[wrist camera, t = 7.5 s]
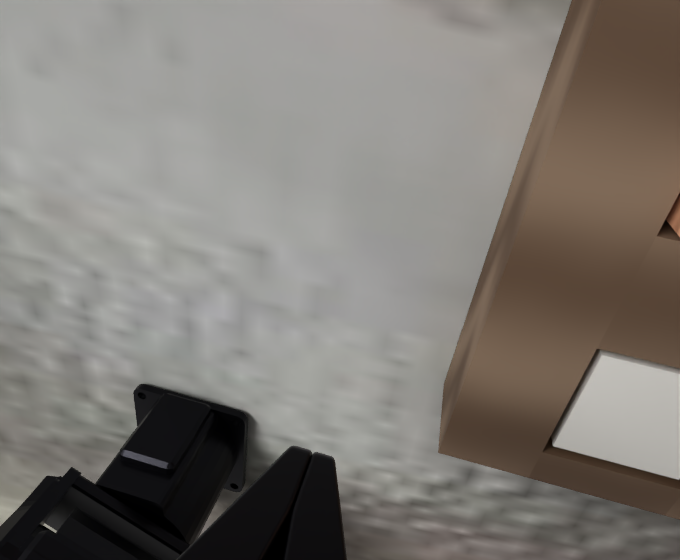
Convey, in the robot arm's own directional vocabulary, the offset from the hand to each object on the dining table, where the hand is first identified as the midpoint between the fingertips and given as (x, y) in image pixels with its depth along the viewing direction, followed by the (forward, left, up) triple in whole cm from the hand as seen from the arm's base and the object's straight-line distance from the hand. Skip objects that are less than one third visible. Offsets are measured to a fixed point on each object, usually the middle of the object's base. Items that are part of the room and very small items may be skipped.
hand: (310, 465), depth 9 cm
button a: (-4, -10, -12) cm, 16 cm away
